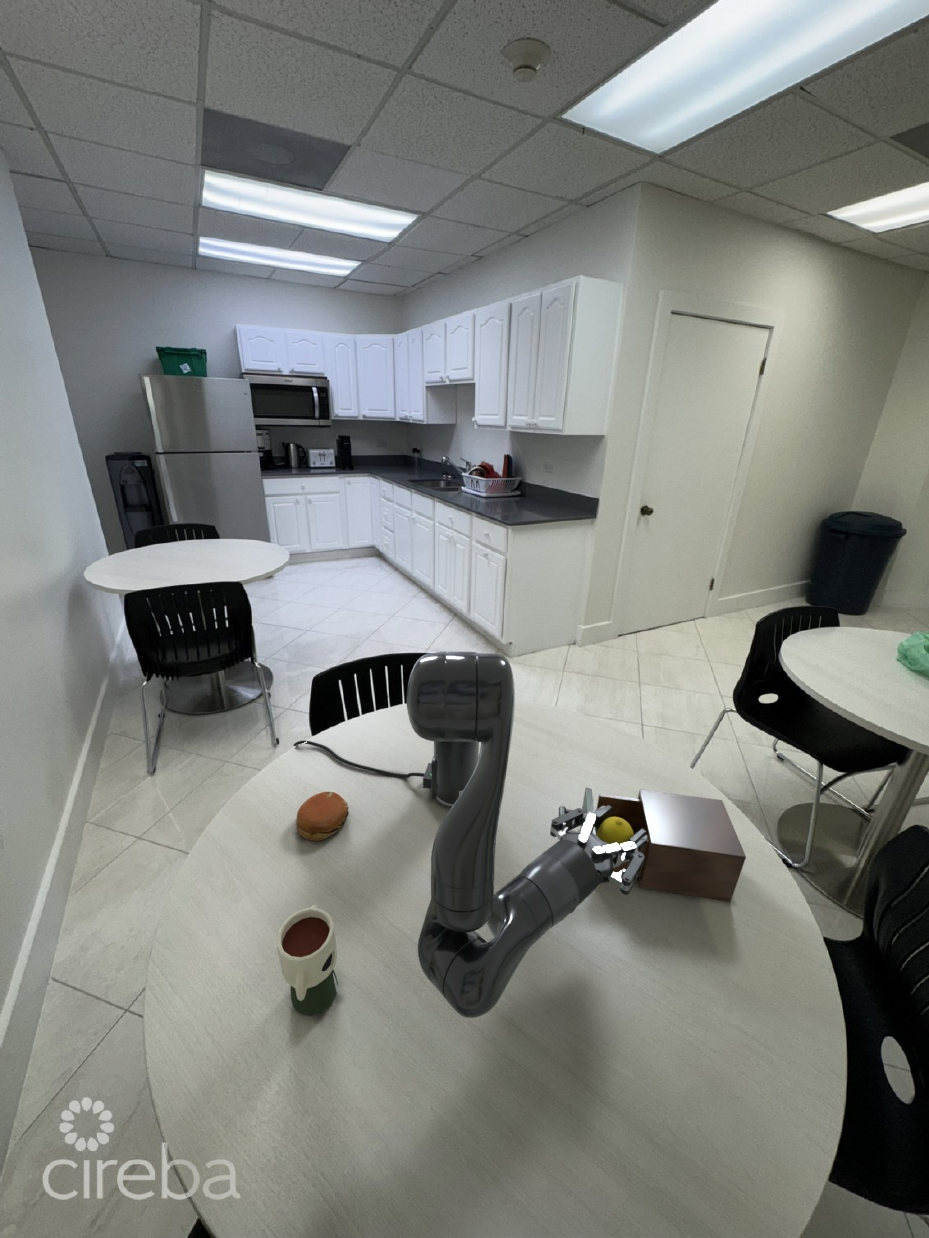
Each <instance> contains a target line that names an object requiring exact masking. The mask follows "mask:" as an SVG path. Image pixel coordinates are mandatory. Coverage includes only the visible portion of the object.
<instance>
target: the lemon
mask: <svg viewBox="0 0 929 1238" xmlns="http://www.w3.org/2000/svg"><path fill="white" fill-rule="evenodd" d="M633 836H634V833H633V830H632V828H631V826H630V825H629V824H628V822H627V821H625V820H624V819H622V818H619V817H610V818H607V819H606V820H604V821H603V822H602V823H601V825H600V827H599V829H598V832H597V837H598V838H599V839H600V840H601V841H603V842H605V843H607V844H608V845H609V844H613V843H619V844H622V843H626V842H629V840H630V839H631V838H632V837H633Z"/></svg>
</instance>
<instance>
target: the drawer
mask: <svg viewBox="0 0 929 1238" xmlns="http://www.w3.org/2000/svg"><path fill="white" fill-rule="evenodd" d="M584 789H585V790H584V793H583V801H582V808H581V809H583V810H584V813H587V814H589V813H593V812H595V811H596V810H597V809H599V808H600V807H601V806H607V805H610V806H611V807H613V810H612V815H611V817H619V818H622V819H624V820H625V821H627V822H628V824H629V825H630V826H631V828H632V830H633V833H634V835H635V834H636V833H637V832H639V831H640V830H641V829H642V828H643V829H644V830H646V831H647V828H646V823H645V818H644V814H643V809H642V804H641V800H640V799H638V797H630V796H624V795H623V796H622V795H616V794H615V795H614V794H606V793H600V792H599V793H598V797H597V803H596V804H597V805H596V809H594V796H593V789H592V788H587V787H585V788H584ZM573 810H574V809H569V808H567V807H565V806H564V805H561V806H559V807H558V817H559V816H562V815H564V814H566V813H568V812H570V811H573ZM579 827H580V831H578V830H573V829H572V830H570V831H567V833H581V830H582V828H583V825H580V826H579ZM599 827H600V826H599ZM599 827H598V828H596V827H594V830H593V832H592V833H594V834H595V835H596V836H597V832H598V829H599ZM646 835H647V836H648V832H647V834H646ZM649 844H650V842H649V837H648V838H647V842H646V846H645V847H643V848H642V849H641V850H640V851H639V852H641V853H643V854H644V856H645V858H644V862H643V867H642V870H641V872H640V874H639V876H641V877H642V874H643V870H644V865H645V861H646V857H647V852H648V848H649ZM630 863H631V861H628V862H624V863H621V865H620V866H618V867H614V868H613V872H615V873H618V872H619V871H621V870H622V869H625V870H627V868H628V866H629V865H630ZM639 876H638V877H639Z"/></svg>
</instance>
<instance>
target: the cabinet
mask: <svg viewBox="0 0 929 1238" xmlns="http://www.w3.org/2000/svg"><path fill="white" fill-rule="evenodd" d="M637 798H638V799H640V800H641V804H642V809H643V814H644V818H645V823H646V828H647V832H648V837H649V842H650V844H649V848H648V852H647V857H646V861H645V865H644V870H643V874H642V877H641V876H638V879H639V885H640V889H645V890H652V891H657V892H664V893H671V894H677V895H682V896H689V897H696V898H701V899H707V900H713V901H714V900H715V901H720V902H726V903H731V902H732V899H733V896H734V894H735V891H736V888H737V885H738V881H739V878H740V876H741V873H742V871H743V867H744V864H745V861H746V859H747V856H746V854H745V851H744V848H743V846H742V844H741V841H740V839H739V837H738V835H737V832H736V829H735V828H734V824H733V822H732V820H731V819H730V816H729V813H728V811H727V808H726V806H725V803H724V801H723V799H717V798H708V797H702V796H696V795H695V796H694V795H686V794H678V793H671V792H663V791H656V790H649V789H641V788H639V790H638V795H637Z"/></svg>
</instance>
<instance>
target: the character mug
mask: <svg viewBox="0 0 929 1238" xmlns="http://www.w3.org/2000/svg"><path fill="white" fill-rule="evenodd" d="M337 947H338V946H337V943H336V933H335V927H334V922H333V919H332V918H331V916H330V915H329V913H328V912H326V911H325V910H323V909H322V908H319V907H318V905H316V904H313V905H312V906H310V907H307V908H303V909H299V910H298V911H296V912H294V913H293V914H291V915H290V916H289V917H288V918H287V919H286V920H285V921H284V922H283V923H282V924H281V926H280V929H279V930H278V932H277V935H276V949H277V955H278V959H279V965H280V969H281V974H282V976H283V979H284V980H285V983H286V984H287V985H289V986H290V1001H291V1004H292V1009H294V1010H295V1011H296V1012H297V1013H298V1014H299V1015H302V1016H309V1017H312V1016H316V1015H321V1014H323V1013H324V1012H326V1010H328V1008H330V1007H331V1006H332V1005H333V1003H334V1001H335V999H336V997H337V995H338V992H337V987H336V984H337V986H339V981H338V978H337V975H336V971H335V967H336V964H337V960H338V949H337ZM334 978H335V979H334ZM335 981H336V984H335Z"/></svg>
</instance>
